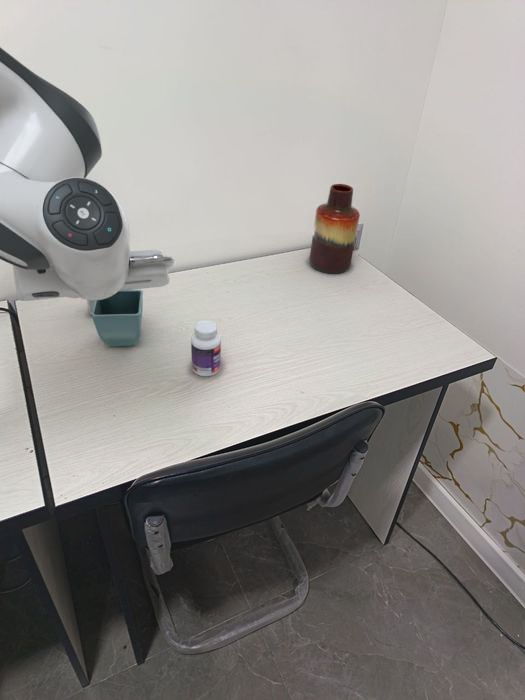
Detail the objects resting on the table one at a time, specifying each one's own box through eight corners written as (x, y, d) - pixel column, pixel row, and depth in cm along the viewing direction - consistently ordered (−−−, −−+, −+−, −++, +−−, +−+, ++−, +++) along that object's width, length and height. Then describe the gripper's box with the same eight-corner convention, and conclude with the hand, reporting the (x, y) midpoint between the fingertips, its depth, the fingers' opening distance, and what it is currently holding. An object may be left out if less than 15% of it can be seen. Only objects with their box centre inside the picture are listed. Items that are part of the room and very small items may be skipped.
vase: (336, 251, 136) (348, 177, 123) (358, 270, 128) (373, 193, 116) (301, 257, 132) (311, 181, 119) (322, 277, 124) (334, 198, 112)
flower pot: (144, 352, 97) (140, 314, 91) (98, 354, 95) (90, 315, 90) (146, 326, 103) (142, 289, 98) (103, 327, 102) (96, 290, 97)
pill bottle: (219, 378, 92) (219, 336, 86) (190, 376, 92) (188, 334, 86) (221, 359, 96) (222, 318, 90) (193, 358, 96) (192, 317, 90)
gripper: (171, 232, 65) (163, 263, 78) (0, 245, 59) (22, 276, 72) (179, 278, 64) (169, 302, 77) (7, 296, 58) (28, 318, 71)
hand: (97, 290), depth 75 cm, fingers closed
